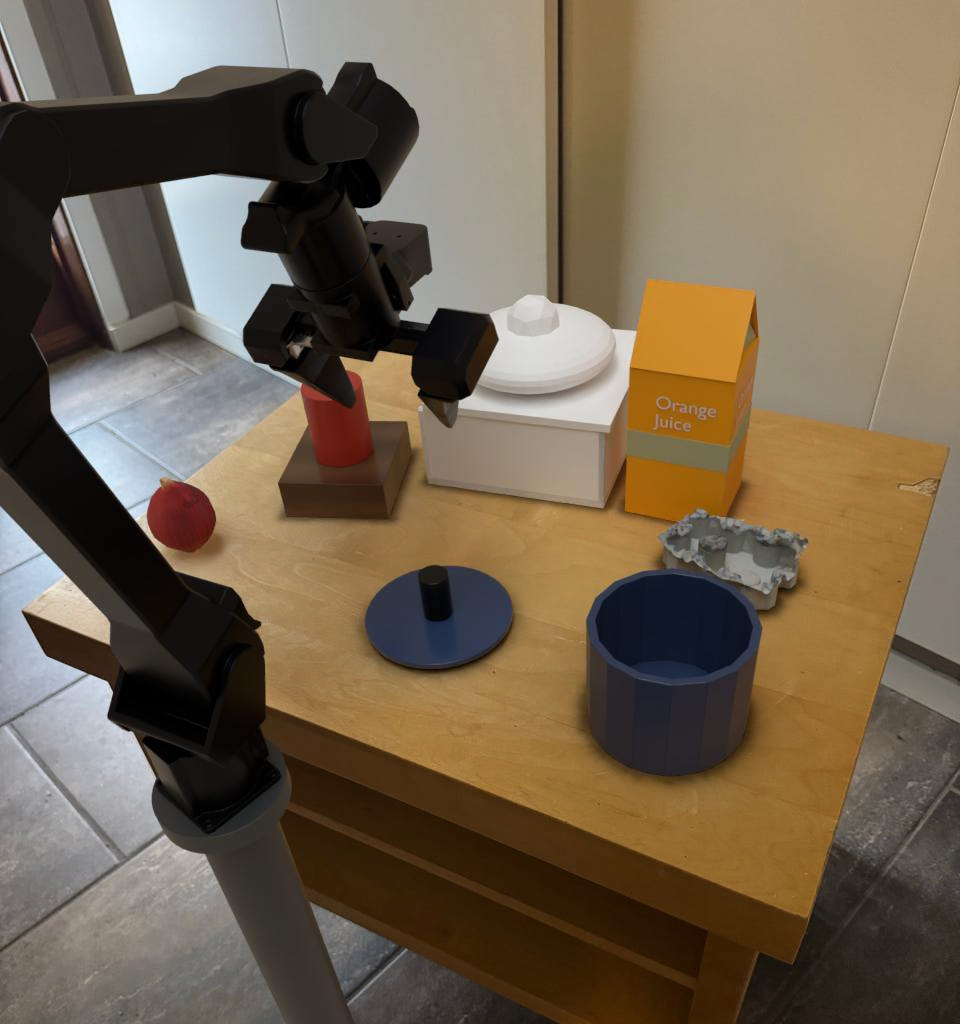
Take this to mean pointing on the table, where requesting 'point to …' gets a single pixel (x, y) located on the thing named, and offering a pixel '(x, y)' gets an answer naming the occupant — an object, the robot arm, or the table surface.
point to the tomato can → (338, 426)
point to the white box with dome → (540, 410)
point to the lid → (438, 617)
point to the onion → (180, 516)
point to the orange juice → (689, 399)
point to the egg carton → (735, 554)
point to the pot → (670, 670)
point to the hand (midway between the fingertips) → (401, 413)
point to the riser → (348, 478)
